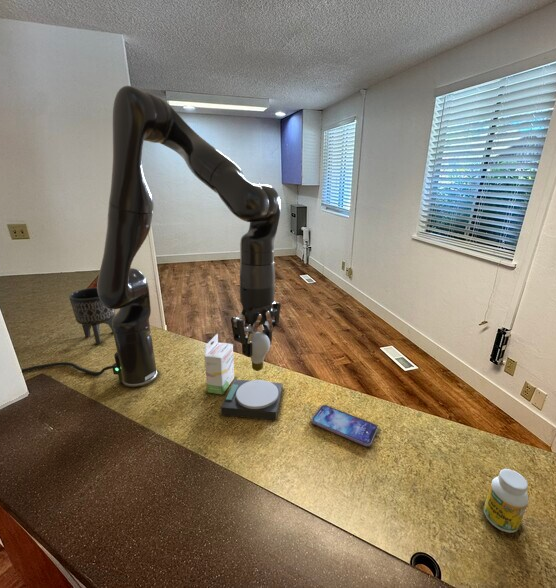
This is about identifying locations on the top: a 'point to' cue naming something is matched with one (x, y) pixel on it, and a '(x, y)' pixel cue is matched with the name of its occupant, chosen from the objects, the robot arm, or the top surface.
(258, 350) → the light bulb
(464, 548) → the top surface
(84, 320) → the planter
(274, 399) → the kitchen scale
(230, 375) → the ink box
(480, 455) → the top surface
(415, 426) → the top surface
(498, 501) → the supplement bottle
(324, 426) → the smartphone
